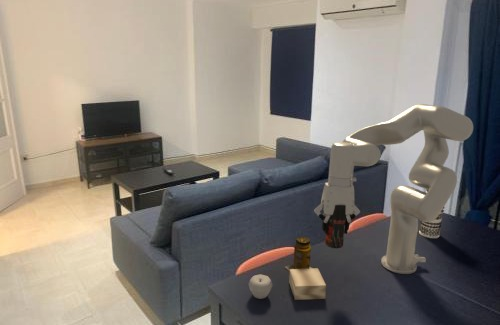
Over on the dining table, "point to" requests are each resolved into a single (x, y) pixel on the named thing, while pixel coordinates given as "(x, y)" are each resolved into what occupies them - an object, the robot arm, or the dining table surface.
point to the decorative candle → (431, 226)
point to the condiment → (301, 254)
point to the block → (307, 284)
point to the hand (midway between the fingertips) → (335, 231)
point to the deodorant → (336, 227)
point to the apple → (260, 286)
